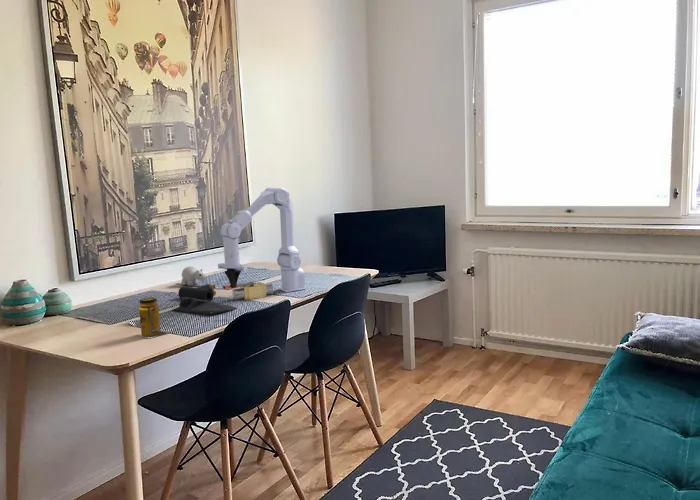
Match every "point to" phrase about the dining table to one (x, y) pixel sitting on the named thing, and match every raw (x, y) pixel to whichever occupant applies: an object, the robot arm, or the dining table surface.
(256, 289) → the valve
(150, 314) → the condiment
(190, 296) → the pipe connector
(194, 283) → the chubby cartoon animal
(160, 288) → the dining table surface
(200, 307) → the dark slate chunk
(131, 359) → the dining table surface
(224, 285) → the lever
